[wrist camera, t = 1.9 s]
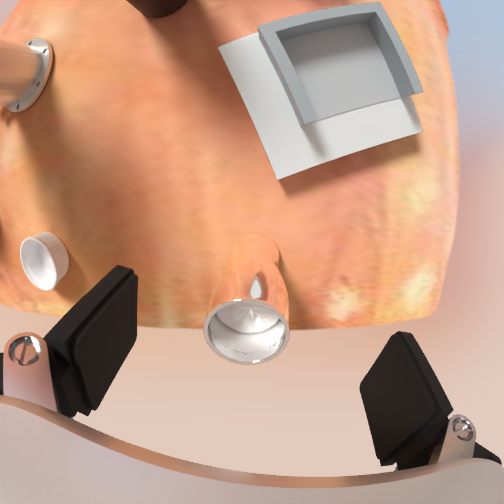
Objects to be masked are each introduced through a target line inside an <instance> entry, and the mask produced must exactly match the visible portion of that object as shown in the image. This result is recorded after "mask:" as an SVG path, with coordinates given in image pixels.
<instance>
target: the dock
mask: <svg viewBox="0 0 504 504" xmlns="http://www.w3.org/2000/svg"><path fill="white" fill-rule="evenodd" d="M218 49H219V51H220V53H221V55H222V57H223V59H224V61H225V63H226V65H227V67H228V69H229V72H230V74H231V76H232V78H233V80H234V82H235V84H236V86H237V88H238V90H239V93H240V95H241V97H242V99H243V101H244V103H245V106H246V108H247V110H248V112H249V114H250V117H251V119H252V121H253V123H254V126H255V128H256V130H257V133H258V135H259V137H260V139H261V142H262V144H263V146H264V149H265V151H266V153H267V156H268V158H269V161H270V163H271V165H272V168H273V170H274V173H275V175H276V177H277V180H278V179H281V178H284V177H286V176H289V175H292V174H294V173H297V172H300V171H302V170H305V169H308V168H311V167H314V166H316V165H319V164H322V163H325V162H328V161H331V160H333V159H336V158H339V157H342V156H345V155H348V154H351V153H354V152H357V151H360V150H363V149H367V148H370V147H373V146H376V145H379V144H382V143H386V142H389V141H392V140H396V139H399V138H402V137H406V136H409V135H413V134H416V133H420V132H423V131H422V128H421V124H420V121H419V118H418V115H417V112H416V109H415V106H414V103H413V101H412V98H411V95H413V94H418V93H422V92H424V91H423V89H422V86H421V84H420V81H419V78H418V76H417V74H416V71H415V69H414V66H413V64H412V62H411V60H410V57H409V55H408V53H407V51H406V49H405V47H404V45H403V43H402V41H401V39H400V37H399V35H398V33H397V31H396V29H395V27H394V26H393V24H392V22H391V20H390V18H389V17H388V15H387V13H386V11H385V10H384V8H383V7H382V5H381V3H380V2H375V3H364V4H355V5H347V6H340V7H333V8H328V9H322V10H317V11H312V12H307V13H303V14H299V15H295V16H291V17H287V18H283V19H279V20H276V21H273V22H269V23H266V24H263V25H260V26H258V32H256V33H253V34H251V35H248V36H245V37H242V38H239V39H237V40H234V41H232V42H229V43H227V44H224V45H222V46H219V47H218Z"/></svg>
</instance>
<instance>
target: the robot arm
mask: <svg viewBox="0 0 504 504" xmlns="http://www.w3.org/2000/svg"><path fill="white" fill-rule="evenodd" d="M52 61H53V51H52V47H51V45H50V43H49V42H48V41H47V40H45V39H42V38H34V39H31V40H30V41H28V42H26V43H25V44H20V43H15V42H9V41H3V40H0V106H6V108H7V109H8V110H9V111H11V112H22V111H24V110H26V109H28V108H29V107H30V106H31V105H32V104H33V103H34V102H35V101H36V100H37V98H38V97H39V96H40V94H41V92H42V90H43V89H44V87H45V85H46V82H47V80H48V77H49V74H50V71H51V67H52ZM137 291H138V276H137V275H135V274H134V271H133V269H130V268H127V267H123V266H120V265H117V266H116V267H114V268H113V269H112V270H111V271H110V272H109V273H108V274H107V275H106V276H105V277H104V278H103V279H102V280H101V281H100V282H98V283H97V284H96V285H95V286H94V287H93V288H92V289H91V290H90V291H89V292H88V293H87V294H86V295H85V296H83V297H82V298H81V299H80V300H79V301H78V302H77V303H76V304H75V305H74V306H73V307H72V308H71V309H70V310H69V311H68V312H67V313H66V314H65V315H64V316H63V317H62V319H61V320H60V321H59V322H58V323H57V324H56V325H55V326H54V327H53V328H52V329H51V330H50V331H49V333H48V334H47V335H46V336H45V337H44V338H42V337H40V336H39V335H37V334H34V333H27V332H25V333H20V334H17V335H15V336H13V337H12V338H11V339H10V340H8V342H7V343H6V345H5V348H4V353H0V504H504V468H503V467H502V466H501V464H502V463H501V460H500V458H499V457H497V456H496V455H495V454H493V453H492V452H490V451H489V450H487V449H485V448H484V447H482V446H481V445H479V444H478V443H476V442H475V439H476V431H475V427H474V425H473V424H472V422H471V421H470V420H469V419H468V418H466V417H465V416H463V415H454V416H453V417H451V418H450V419H448V417H447V416H448V415H449V414H450V413H451V412H452V411H453V408H452V406H451V404H450V402H449V400H448V398H447V396H446V394H445V392H444V390H443V388H442V386H441V384H440V382H439V380H438V379H437V377H436V375H435V373H434V371H433V369H432V368H431V366H430V364H429V363H428V360H427V358H426V357H425V355H424V353H423V352H422V350H421V348H420V346H419V345H418V343H417V341H416V340H415V338H414V336H413V335H412V334H411V333H407V332H401V331H398V332H396V333H395V334H394V335H392V336H391V337H390V339H389V340H388V342H387V344H386V345H385V347H384V349H383V350H382V352H381V353H380V355H379V357H378V358H377V359H376V361H375V363H374V364H373V366H372V367H371V368H370V370H369V372H368V373H367V374H366V376H365V377H364V379H363V380H362V382H361V384H360V393H361V397H362V400H363V404H364V408H365V411H366V415H367V419H368V423H369V427H370V431H371V435H372V439H373V444H374V448H375V452H376V456H377V458H378V459H380V464H381V466H388V465H393V464H394V463H397V467H396V469H395V471H393V472H386V473H379V474H370V475H358V476H343V477H292V476H276V475H265V474H255V473H248V472H241V471H234V470H228V469H221V468H216V467H212V466H207V465H202V464H198V463H193V462H189V461H185V460H181V459H177V458H174V457H170V456H167V455H163V454H160V453H156V452H153V451H150V450H148V449H145V448H142V447H139V446H136V445H133V444H130V443H127V442H124V441H122V440H119V439H117V438H114V437H111V436H109V435H107V434H104V433H102V432H100V431H97V430H95V429H93V428H91V427H88V426H86V425H84V424H82V423H79V422H77V421H75V420H73V417H74V416H75V415H76V413H77V411H78V412H80V413H82V414H84V415H86V416H89V414H90V412H91V410H94V411H95V410H96V409H97V408H98V407H99V405H100V403H101V401H102V399H103V398H104V396H105V394H106V392H107V390H108V389H109V386H110V385H111V383H112V381H113V380H114V378H115V376H116V374H117V372H118V370H119V369H120V367H121V366H122V364H123V362H124V360H125V359H126V357H127V355H128V354H129V352H130V350H131V348H132V347H133V345H134V343H135V341H136V337H137Z"/></svg>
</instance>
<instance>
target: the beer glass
mask: <svg viewBox="0 0 504 504" xmlns="http://www.w3.org/2000/svg"><path fill="white" fill-rule="evenodd" d="M229 259H230V263H229V264H228V265H227V267H226V268H225V269H224V270H223V272H222V273H221V275H220V276H219V278H218V279H217V281H216V283H215V285H214V288H213V290H212V293H211V296H210V300H209V303H208V308H207V314H206V319H205V322H204V328H203V330H204V336H205V340H206V342H207V344H208V345H209V347H210V348H211V349H212V350H213V351H214V352H215V353H216V354H217V355H219V356H220V357H222V358H224V359H226V360H228V361H230V362H234V363H237V364H245V365H251V364H252V365H253V364H260V363H264V362H267V361H269V360H271V359H273V358H275V357H276V356H278V355H279V354H280V353H281V352H282V351H283V350H284V348H285V347H286V345H287V343H288V340H289V334H290V331H289V320H290V309H289V298H288V293H287V288H286V285H285V283H284V280H283V278H282V276H281V274H280V272H279V270H278V268H277V267H278V264H279V259H280V255H279V250H278V247H277V246H276V244H275V243H274V242H273V241H272V240H271V239H270V238H269V237H267V236H265V235H263V234H259V233H250V234H246V235H243V236H241V237H240V238H238V239H237V240H236V241H235V242H234V244H233V245H232V247H231V250H230V255H229Z"/></svg>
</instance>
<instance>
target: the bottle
mask: <svg viewBox="0 0 504 504" xmlns="http://www.w3.org/2000/svg"><path fill="white" fill-rule="evenodd" d="M127 1H128V2H129V3H130V4H131V5H133V6H134V7H135V8H136V9H137V10H139V11H140V12H141V13H142V14H143V15H145V16H148V17H153V18H158V17H164V16H167V15H169V14H172V13H174V12H175V11H177V10H178V9H180V8H181V7H182V6H183V5H184V4H185V3H186V1H187V0H127Z"/></svg>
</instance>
